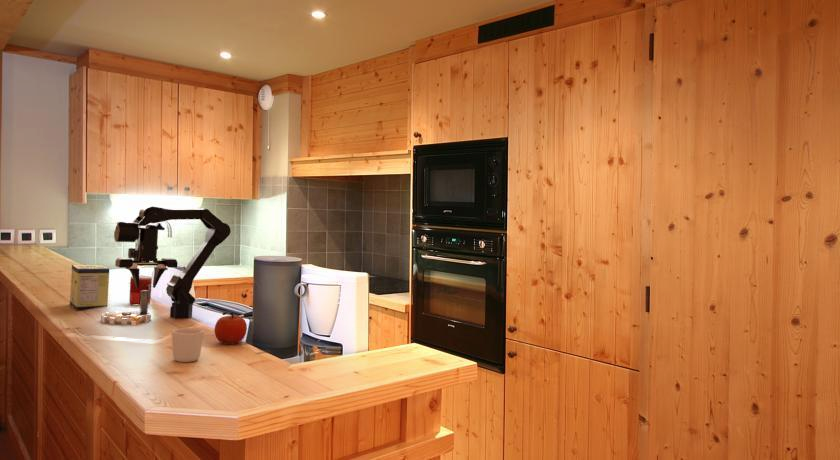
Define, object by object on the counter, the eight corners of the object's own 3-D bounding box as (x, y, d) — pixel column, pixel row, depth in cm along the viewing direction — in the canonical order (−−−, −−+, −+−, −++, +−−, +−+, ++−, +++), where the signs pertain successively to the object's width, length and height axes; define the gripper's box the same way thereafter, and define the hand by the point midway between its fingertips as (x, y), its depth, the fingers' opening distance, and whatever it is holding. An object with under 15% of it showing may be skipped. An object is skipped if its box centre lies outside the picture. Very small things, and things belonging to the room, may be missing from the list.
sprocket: (160, 320, 200) (161, 291, 200) (123, 326, 186) (125, 295, 186) (128, 314, 206) (130, 286, 205) (90, 320, 192) (92, 290, 192)
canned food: (142, 305, 231) (143, 278, 231) (124, 303, 233) (126, 276, 233) (154, 303, 239) (156, 276, 239) (137, 301, 240) (139, 275, 240)
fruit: (253, 343, 180) (254, 311, 180) (228, 347, 172) (230, 314, 172) (231, 338, 185) (233, 306, 185) (207, 342, 177) (208, 310, 177)
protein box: (99, 303, 231) (101, 264, 231) (107, 309, 219) (110, 268, 219) (69, 304, 224) (71, 264, 224) (76, 311, 212) (78, 268, 212)
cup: (179, 353, 162) (181, 325, 162) (208, 354, 163) (210, 326, 162) (165, 363, 151) (167, 332, 151) (197, 364, 152) (199, 334, 152)
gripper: (168, 241, 211) (165, 284, 212) (112, 240, 199) (109, 285, 199) (179, 243, 203) (176, 288, 203) (121, 242, 191) (118, 289, 191)
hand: (145, 287), depth 200 cm, fingers open, 5 cm apart
